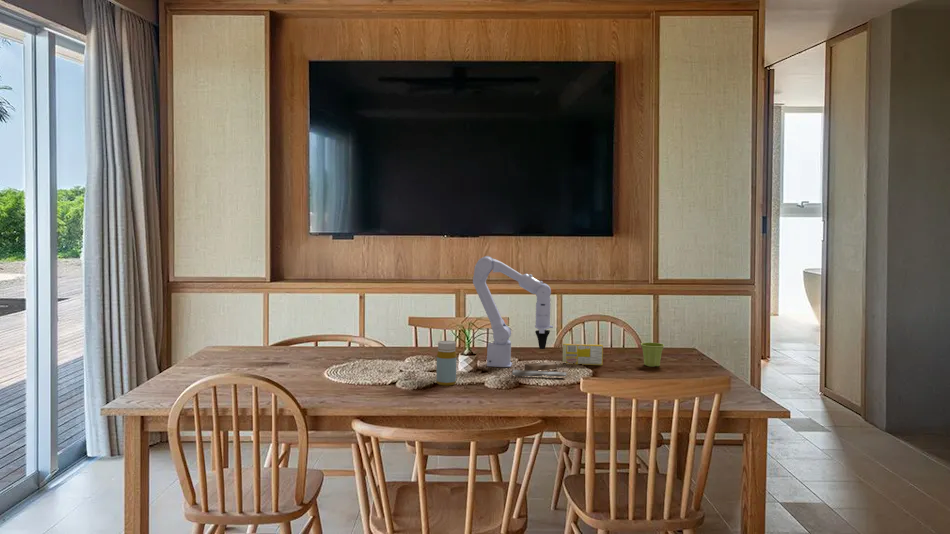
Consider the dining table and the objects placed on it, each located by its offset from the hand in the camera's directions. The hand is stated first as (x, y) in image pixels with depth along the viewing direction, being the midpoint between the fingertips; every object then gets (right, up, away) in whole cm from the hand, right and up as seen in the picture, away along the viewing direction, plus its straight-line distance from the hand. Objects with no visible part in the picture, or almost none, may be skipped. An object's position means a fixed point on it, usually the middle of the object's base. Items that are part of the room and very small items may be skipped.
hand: (542, 348), depth 315 cm
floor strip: (-3, -9, -17) cm, 19 cm away
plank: (-1, -8, -6) cm, 10 cm away
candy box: (+17, -8, +8) cm, 20 cm away
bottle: (-37, -10, -32) cm, 50 cm away
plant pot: (+45, -8, +9) cm, 47 cm away
